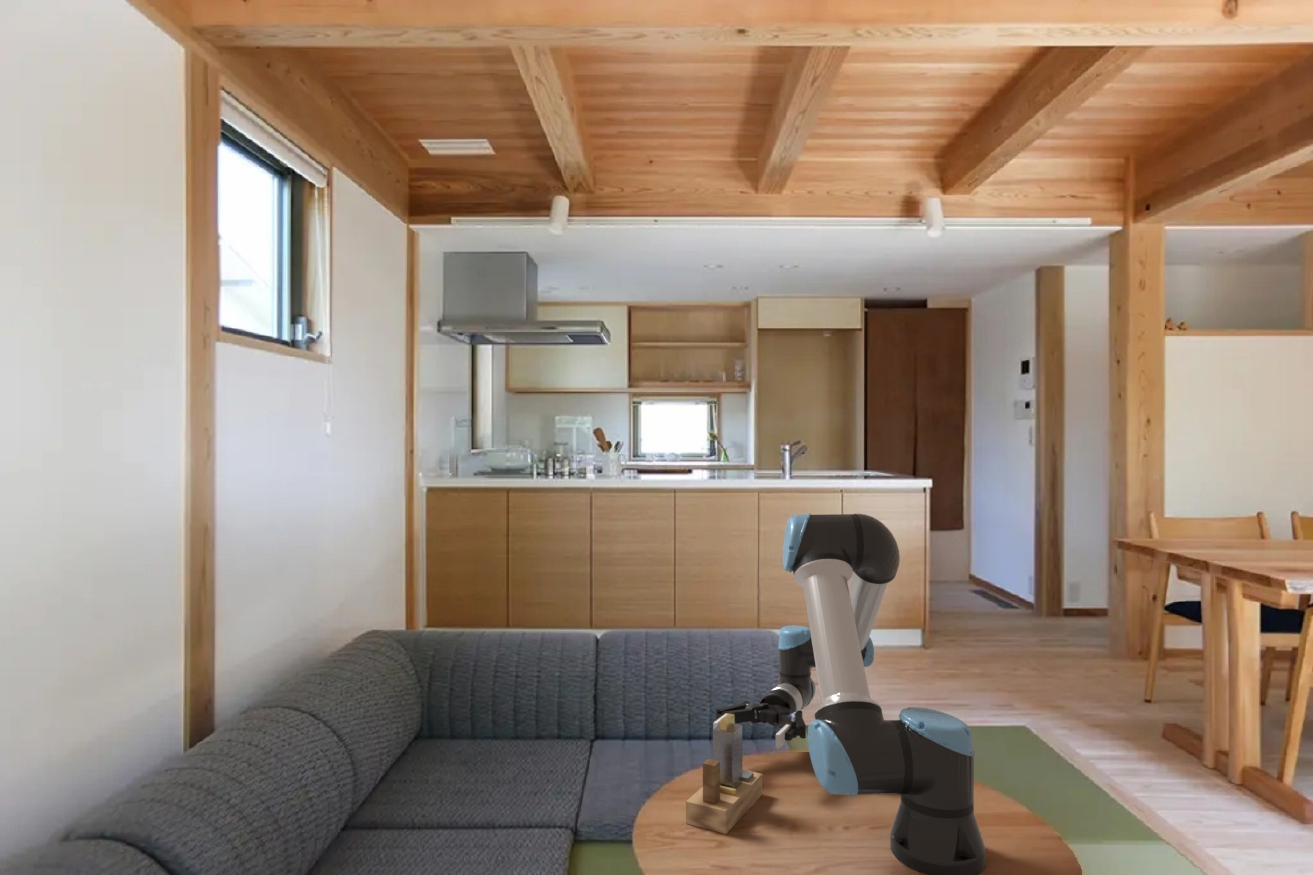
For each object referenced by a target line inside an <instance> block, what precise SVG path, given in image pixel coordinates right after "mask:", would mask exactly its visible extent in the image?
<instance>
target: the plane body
mask: <svg viewBox="0 0 1313 875" xmlns="http://www.w3.org/2000/svg"><path fill="white" fill-rule="evenodd" d="M762 795H763V773H760V772H756V771H751V770H745V769H742V783H741V784H740V785H739V786H738V787H737V788H736V789H734V788H730V787H725V786H721V785H720V761H716V760H713V758H707V759H706V760H705V761H704V762H702V786H701V787H700V788H699V789H698V790H697V791H696V792H695V793H693V795H691V796H690V797H689V798H688V799H687V800H686V801H685V824H686V825H690V826H694V827H699V828H702V829H706V830H710V831H713V832H716V833H720V834H724V835H727V834H728V833H729V831H730V830H731V829H733V827H734V826H735V825H736V824H737V823H738V822H739V820H741V819H742V817H744V815H745V814H746V813H747V812H748V811H749V810H750V808H752V806H753V805H754V804H755V803H756V802H757V801H758V800H759V799H760V798H761V796H762Z"/></svg>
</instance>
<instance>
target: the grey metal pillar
mask: <svg viewBox="0 0 1313 875" xmlns="http://www.w3.org/2000/svg"><path fill="white" fill-rule="evenodd" d="M712 760H716V761H720V785H721V786H725V787H730V788H734V789H736V788H737V787H738V786H739V785H740V784H741V783H742V770H743V724H740V723H735V714H727V715H726V716H725V717H723V718H722V719H721V724H720V725H718V726H717V727H716V728H714V729H712Z"/></svg>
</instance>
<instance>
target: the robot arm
mask: <svg viewBox="0 0 1313 875" xmlns="http://www.w3.org/2000/svg"><path fill="white" fill-rule="evenodd" d="M784 532H785V533H784V537H783V538H784V539H783V545H782V546H783V550H782V564H783V565H782V566H783V570H785V571H786V572H789V573H792V572H793V579H794V581H795V583H796V585H798V586H800V587H801V588H803V593H804V601H805V606H806V607H805V608H806V611H807V612H806V613H807V620H808V624H809V626H808V627H807V626H803V625H795V624H793V625H785V626H782V628H780V630H779V634H778V645H777V646H778V685H777V686H775V687H774V688H772V689H771V690H770V691H768V692H767V693H766V694H765V695H763V697H762V698H761V700H760V702H759V704H753V705H750V702H749V701H747V700H745V701H743V702H741V703H738V704H733V705H730V706H726V707H722V708H718V709H715V721H714V722H713V723H712V724H713V725H712V726H713V727H712V728H713V729H714V728H716V727H717V726H718V725H720V724H721V719H722V718H723V717H725V716H726V715H727V714H735V724H742V723H748V722H751V723H752V724H758V723H763V724H764V723H767V724H769V725H771V726H772V727H777V728H779V729H780V730H778V732H776V734H775V749H777V750H778V749H779V750H780V749H781V748H782V747H783V746H784V745H785V744H786V743H787V742H791V741H792V740H793V739H796V738H797V736H798V737H799V738H800V739H803V740H804V739H807V741H808V753H809V758H810V762H811V766H812V768H813V772H814V774H815V776H816V780H817V781H818V783H819V784H820V786H821V787H822V788H823V790H824V791H825V792H827V793H829V794H831V795H840V796H841V795H843V796H844V795H845V796H849V797H856V796H864V795H865V796H867V795H868V796H869V795H870V796H871V795H872V796H873V795H877V796H879V795H882V796H883V795H885V796H886V795H900V803H899V807H898V808H897V812H896V816H895V818H894V821H893V824H892V827H891V830H890V834H889V836H890V840H889V842H890V850H891V853H892V854H893V855H894V857H895V858H896V859H897V860H899V862H901V863H902V864H904V865H906V866H907V867H909V868H911V869H913V870H915V871H918V872H920V873H923V874H927V875H977V874H979V873H981V872H982V871H983V870H984V869H985V867H986V864H987V862H986V861H987V857H986V856H987V855H986V853H987V852H986V851H987V850H986V846H985V842H984V840H983V837H982V833H981V831H980V827H979V824H978V822H977V819H976V816H975V806H974V805H975V802H974V801H975V800H974V798H975V797H974V796H975V794H974V793H975V792H974V790H975V788H974V787H975V786H974V785H975V783H974V782H975V780H974V778H975V775H974V774H975V772H974V771H975V769H974V767H975V766H974V765H975V764H974V762H975V758H974V756H975V751H974V743H973V741H974V740H973V739H974V738H973V733H972V730H971V728H970V726H969V725H968V724H967V723H966V722H964V721H963V720H961V719H960V718H958V717H955V716H954V715H952V714H948V713H945V712H943V711H939V710H935V709H931V708H925V707H919V706H918V707H913V706H911V707H910V706H909V707H907V708H902V710H900V713H899V715H898V718H899V719H893V720H892V719H884V718H885V717H884V715H883V710H882V706H881V704H879V703H878V702H876V701H875V700H874V699H872V698H871V694H870V690H869V685H868V679H867V676H866V669H865V668H866V667H870V666H872V664H873V662H874V659H875V657H874V656H875V648H874V647H875V646H874V642H873V640H872V638H871V637H870V636H871V633H872V630H873V627H874V624H875V621H876V618H877V615H878V612H879V609H880V606H881V604H882V601H883V599H884V598H883V597H884V595H885V593H886V592H885V591H886V589H887V586H888V584H890V583H891V582H892V581H894V579H895V578H896V575H897V573H898V570H899V566H900V561H901V560H900V556H901V555H900V549H899V546H898V543H897V541H896V540H897V539H896V538H895V536H894V535H893V533H892V532H891V530H890V529H889V528H888V527H887V526H886V525H885V524H884V523H883V522H882V521H880V520H879V519H877V518H875V517H874V516H870V515H867V514H863V513H851V514H850V513H849V514H847V513H846V514H845V513H840V514H839V513H836V514H827V513H826V514H811V513H810V512H808V513H805V514H794V515H792V516H790V517H789V518H788V520H787V523H786V525H785V530H784ZM848 582H849V583H848ZM813 668H814V669H815V671H816V677H817V678H816V679H817V685H818V690H819V696H820V705H819V706H818V707H817V709H816V710H815V711H814V719H813V720H812V721H810V723H809V724H808V725H807V726H808V727H807V726H806V722H805V721H804V718H803V711H802V710H803V709H805V708H806V707H808V706H809V705H810V703H811V702H812V700H813V699H814V697H815V694H816V685H815V682H814V681H813V679H812V676H811V675H812V669H813ZM713 729H712V730H713Z"/></svg>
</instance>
